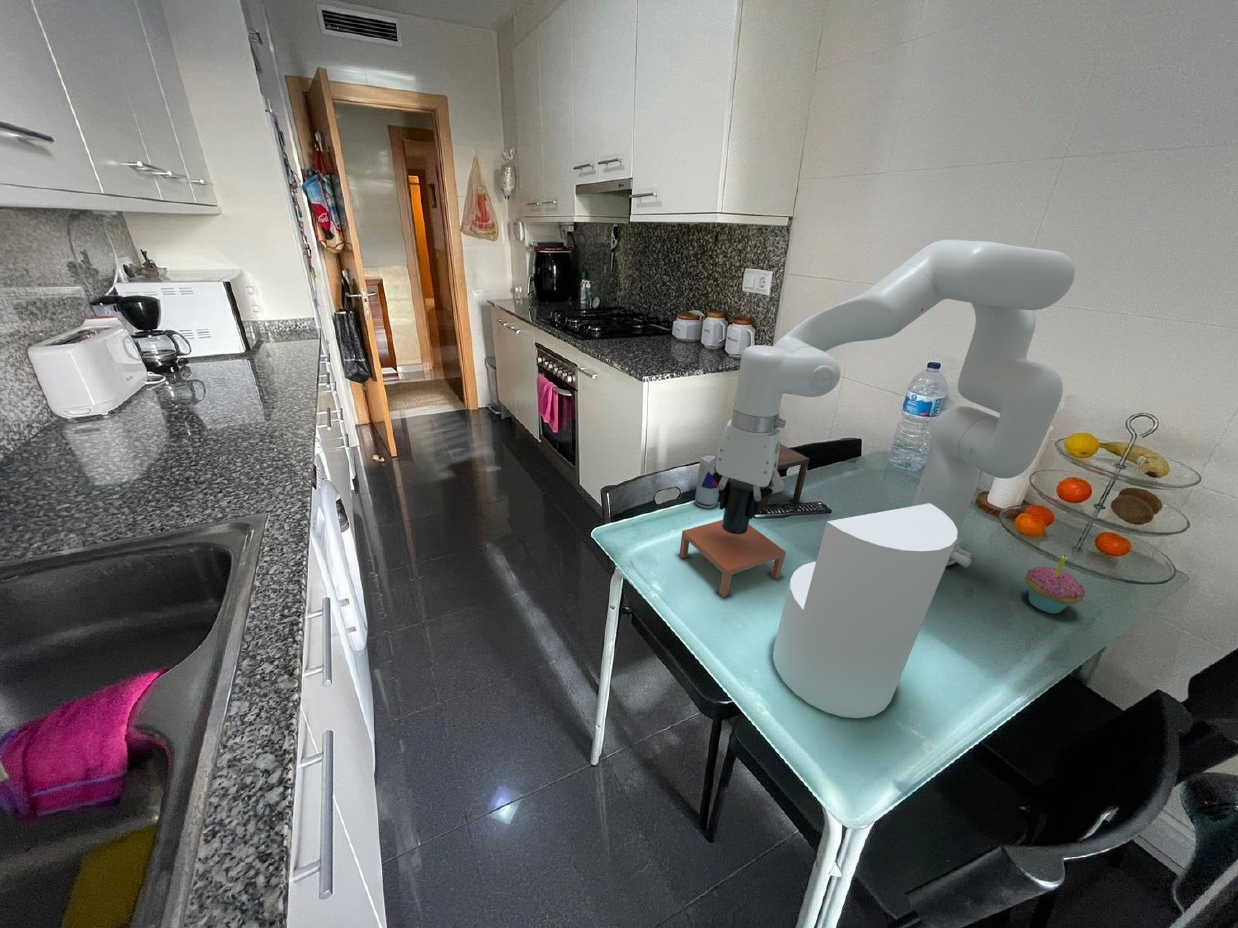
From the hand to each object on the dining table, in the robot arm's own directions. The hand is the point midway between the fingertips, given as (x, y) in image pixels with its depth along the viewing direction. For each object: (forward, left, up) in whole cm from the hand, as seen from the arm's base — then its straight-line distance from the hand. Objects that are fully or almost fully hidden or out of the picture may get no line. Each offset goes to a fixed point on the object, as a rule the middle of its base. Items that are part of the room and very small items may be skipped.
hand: (737, 510), depth 93 cm
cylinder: (-27, +2, -13) cm, 30 cm away
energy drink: (+22, -11, -13) cm, 28 cm away
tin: (0, 0, -4) cm, 4 cm away
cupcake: (-34, -47, -13) cm, 60 cm away
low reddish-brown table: (0, 0, -13) cm, 13 cm away
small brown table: (+19, -27, -13) cm, 36 cm away
